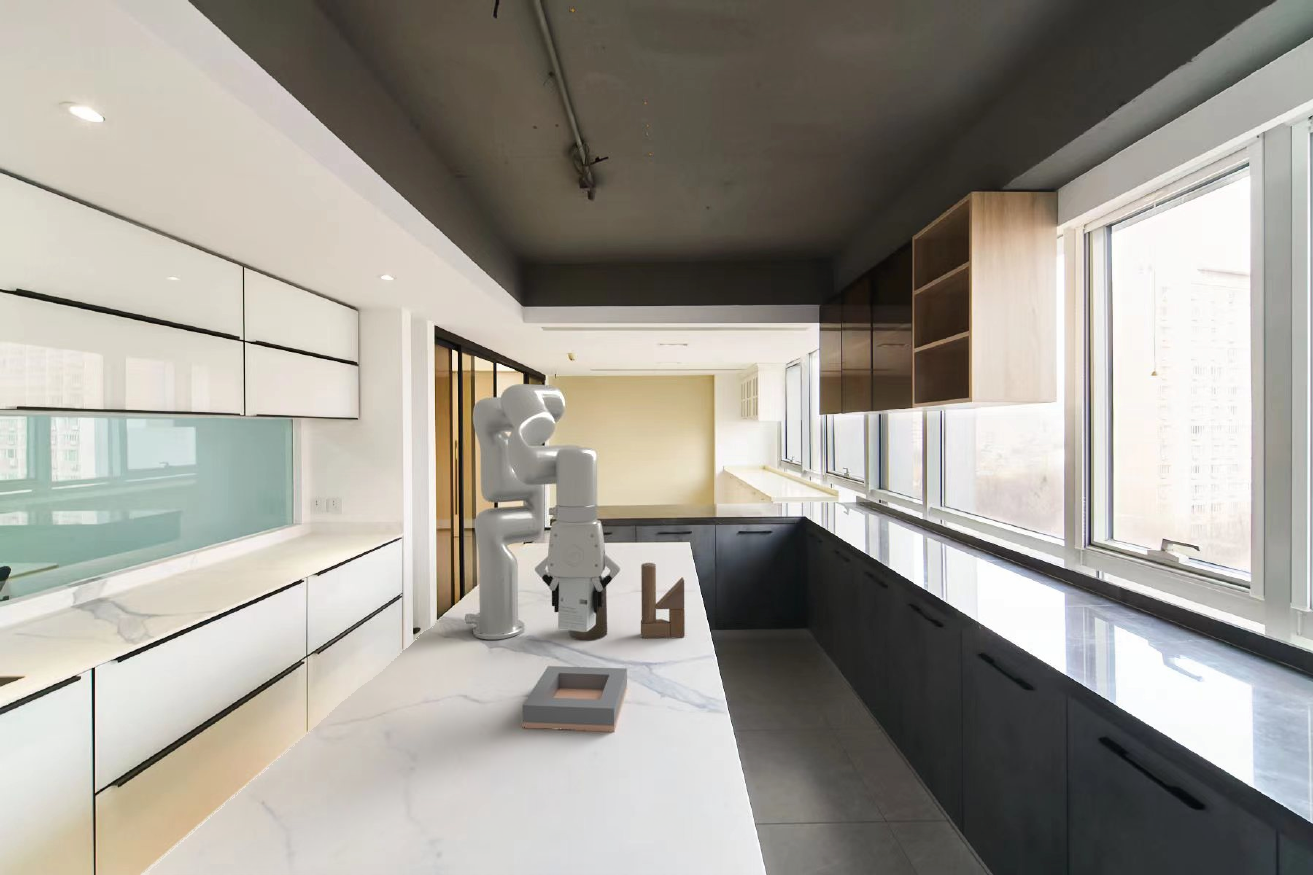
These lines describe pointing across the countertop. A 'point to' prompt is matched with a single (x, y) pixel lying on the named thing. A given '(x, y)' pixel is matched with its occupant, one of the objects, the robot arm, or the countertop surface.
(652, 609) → the wooden block
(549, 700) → the gray square frame
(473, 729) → the countertop surface
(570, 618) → the skincare box
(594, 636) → the pillar candle
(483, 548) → the robot arm
